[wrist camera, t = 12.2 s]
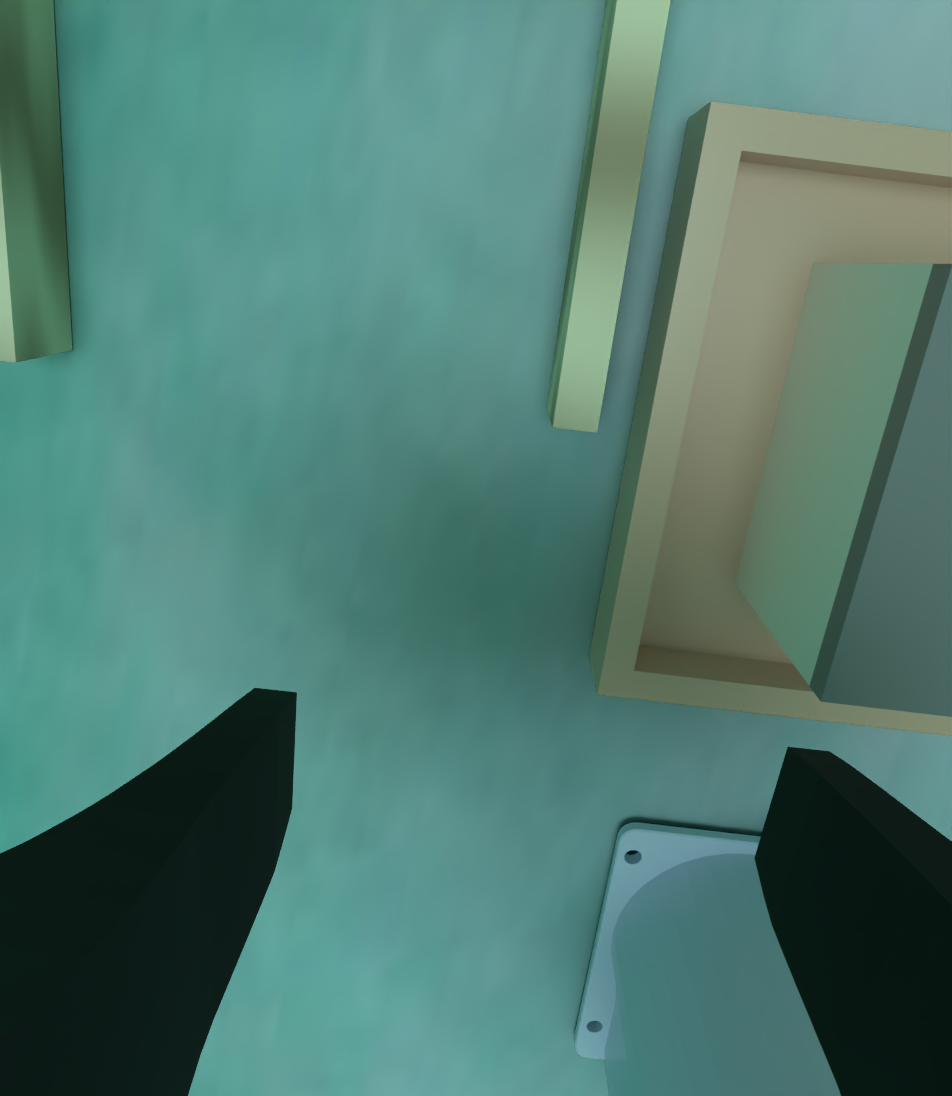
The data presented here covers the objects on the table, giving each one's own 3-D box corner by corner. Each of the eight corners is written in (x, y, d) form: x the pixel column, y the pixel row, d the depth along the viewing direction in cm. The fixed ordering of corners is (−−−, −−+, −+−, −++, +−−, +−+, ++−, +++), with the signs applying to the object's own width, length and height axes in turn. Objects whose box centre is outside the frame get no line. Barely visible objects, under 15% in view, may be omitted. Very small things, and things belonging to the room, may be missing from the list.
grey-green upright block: (921, 605, 21) (1075, 731, 15) (734, 583, 21) (820, 701, 15) (1027, 289, 18) (1261, 302, 13) (813, 262, 18) (952, 263, 13)
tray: (993, 704, 23) (1040, 746, 21) (589, 656, 23) (597, 694, 21) (1195, 183, 18) (1279, 173, 16) (688, 118, 18) (711, 101, 16)
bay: (585, 412, 20) (597, 432, 18) (32, 345, 20) (-30, 356, 18) (672, -116, 16) (700, -179, 14) (-7, -204, 16) (-92, -282, 14)
